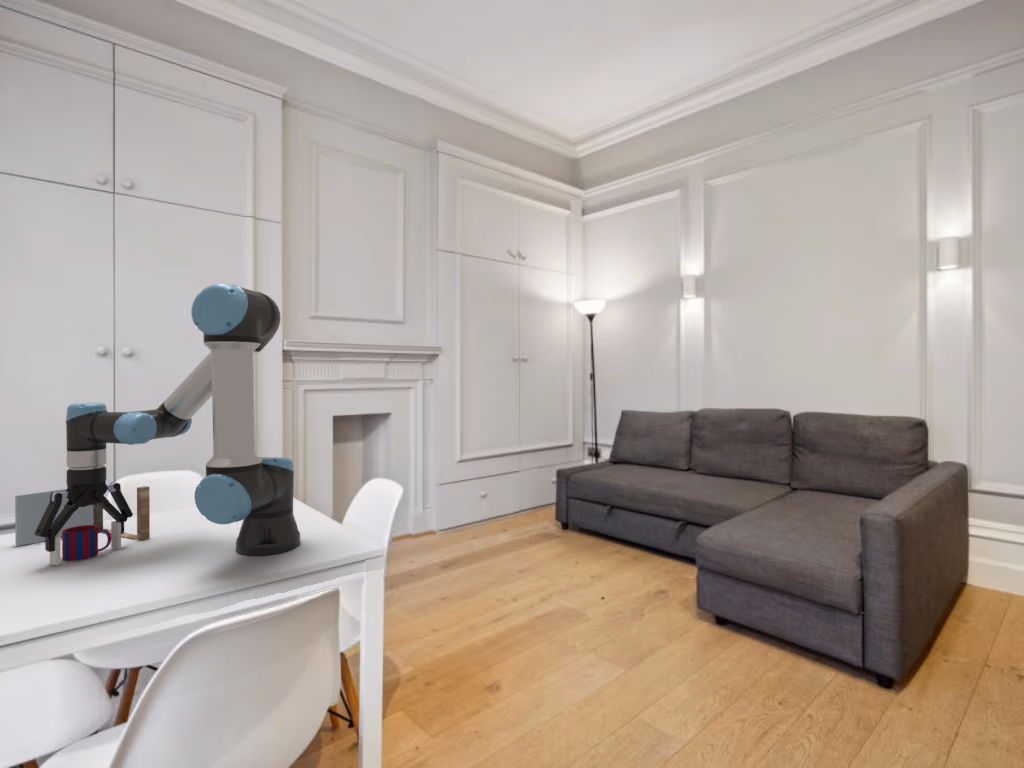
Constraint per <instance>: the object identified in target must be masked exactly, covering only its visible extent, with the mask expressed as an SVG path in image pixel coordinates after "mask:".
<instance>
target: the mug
mask: <svg viewBox="0 0 1024 768" xmlns="http://www.w3.org/2000/svg"><path fill="white" fill-rule="evenodd" d="M100 532H104V533H106V534H105V535H106V537H107V542H106V545H105V546H103V547H102V548H99V534H101V533H100ZM104 533H103V534H104ZM61 543H62V544H61V548H62V549H61V553H62V554H61V558H62V561H64V562H79V561H84V560H88V559H91V558H95V557H97V556H98V555H99V552H102V551H104V550H106V549H107V548H108V547H109V546H110V545H111V534H110V532H109V531H107V530H99V531H98V526H97V525H81V526H75V527H70V528H67V529H64V530H63V531H62V537H61Z"/></svg>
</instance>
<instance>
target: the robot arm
mask: <svg viewBox="0 0 1024 768" xmlns="http://www.w3.org/2000/svg"><path fill="white" fill-rule="evenodd" d="M190 312H191V319H192V322H193V324H194V325H195V326H196V327H197V329H198V330H199V331H201V332H202V333H203V345H204V346H205V347H207V348H208V350H209V353H208V354H207V355H206V356H205V357H203V359H202V360H201V361H200V363H199V364H198V365H197V366H195V368H194V369H193V370H192V371H191V372H190V373H189V374H188V375H187V376H186V378H184V380H183V381H182V382H181V383H180V384H179V385H178V386H177V387H176V388H175V390H174V391H172V393H171V394H169V395H168V397H167V398H166V399H165V400H164V401H163V402H162V403H161V404H160V405H159V406H158V407H157V408H156V409H149V410H147V409H146V410H136V411H133V410H132V411H108V410H107V405H106V404H105V403H103V402H79V403H76V402H75V403H71V404H69V405H68V406H67V407H66V417H65V418H66V419H65V427H66V428H65V429H66V467H67V468H68V469H67V470H66V488H67V490H66V492H60V493H57V492H52V493H51V494H50V503H49V505H48V507H47V509H46V511H45V513H44V515H43V517H42V519H41V521H40V523H39V525H38V527H37V529H36V531H35V535H36V536H40V537H45V540H44V544H45V545H44V546H45V549H44V550H45V551H46V552H49V565H53V566H60V565H61V537H60V536H56V535H57V534H58V532H59V531H60V530H61V529H62V527H63V526H64V525H65V523H66V522H67V521H68V519H69V518H70V517H71V515H72V514H73V513H74V512H75V511H76V510H77V509H78V508H79V507H86V506H88V505H96V504H99V505H100V506H101V507H102V508H103V511H105V512H106V513H107V514H108V515H109V516H111V518H112V519H113V521H111V523H110V530H111V543H110V545H111V546H110V548H113V549H117V550H120V549H121V548H122V537H121V534H123V533H125V522H127V521H128V518H132V517H133V515H134V514H133V511H132V509H131V508H130V506H129V504H128V502H127V500H126V499H125V496H124V494H123V493H122V490H121V489H122V488H121V483H119V482H113V481H112V482H110V483H108V484H106V483H107V467H106V466H105V465H106V464H107V444H118V445H119V444H121V445H122V444H123V445H130V446H131V445H142V444H147V443H149V442H150V441H151V440H152V441H153V440H157V439H165V438H166V439H167V438H174V437H178V436H181V435H185V434H186V433H187V432H188V431H189V430H190V428H191V425H192V420H193V419H192V417H193V416H194V415H196V413H197V412H198V411H199V410H201V408H202V407H203V406H204V405H205V403H207V401H209V400H210V399H211V398H212V399H211V400H212V403H211V405H212V445H213V446H212V447H213V448H212V450H213V452H212V453H213V454H212V457H211V458H210V459H209V460H208V461H207V462H206V463H205V477H203V478H202V479H201V480H200V482H199V483H198V484H197V485H196V487H195V491H194V502H195V503H194V504H195V506H196V508H197V510H198V512H199V513H200V514H201V515H202V516H204V517H205V519H206V520H207V521H209V522H211V523H214V524H217V525H229V524H232V523H238V522H241V521H242V522H241V526H240V529H239V533H238V536H237V538H236V540H235V552H237V553H238V554H240V555H244V556H245V555H246V556H267V555H274V554H280V553H284V552H287V551H290V550H293V549H296V548H297V547H298V546H300V544H301V532H300V531H299V528H298V525H297V521H296V518H295V516H294V474H295V471H294V462H293V460H292V459H291V458H289V457H282V456H281V457H276V456H275V457H273V456H272V457H271V456H268V457H267V456H258V455H257V453H256V446H255V445H256V444H255V443H256V442H255V441H256V439H255V437H256V436H255V432H256V431H255V377H254V376H255V375H254V370H255V369H254V368H255V367H254V353H260V352H261V351H262V350H263V349H264V348H265V347H266V346H267V345H268V344H269V343H270V341H271V340H272V339H273V338H274V337H275V335H276V334H277V332H278V330H279V327H280V325H281V312H280V308H279V307H278V305H277V302H276V301H275V300H273V299H272V298H271V297H270V296H269V295H267V294H265V293H262V292H261V291H260V292H259V291H254V290H251V289H248V288H246V287H245V288H244V287H241V286H238V285H235V284H227V283H213V284H210V285H207V286H206V287H204V288H203V289H202V290H201V291H200V292H199V293H197V295H196V296H195V298H194V300H193V302H192V305H191V311H190ZM107 491H108V493H110V495H111V497H112V499H113V501H114V503H115V504H116V506H117V507H115V506H114V505H113V504H112V503H111V502H110V500H109V499H108V498H107V497H106V496H105V494H106V493H107ZM65 497H67V498H68V499H69V500H68V502H67V503H66V504H65V506H64V509H63V510H62V511H61V512H60V514H59V515H58V516H57V518H56V519H55V516H56V514H57V512H58V510H59V508H60V506H61V503H62V501H64V498H65ZM73 504H74V505H73ZM54 519H55V520H54Z"/></svg>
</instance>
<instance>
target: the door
mask: <svg viewBox="0 0 1024 768" xmlns="http://www.w3.org/2000/svg"><path fill="white" fill-rule="evenodd" d="M66 490H67V487H65V488H58V489H52V490H45V491H38V492H37V491H36V492H30V493H23V494H15V497H14V501H15V502H14V503H15V506H14V507H15V508H14V512H15V513H14V514H15V519H14V521H15V522H14V523H15V524H14V525H15V527H14V528H15V532H14V533H15V546H16V547H18V546H23V545H27V544H33V543H34V544H35V543H38V542H43V541H44V542H45V537H40V536H36V535H35V531H36V529H37V527H38V525H39V523H40V521H41V519H42V517H43V515H44V513H45V511H46V509H47V507H48V505H49V503H50V494H51V493H52V492H57V493H60V492H66ZM68 500H69V499H68V498H67V497H65V498H64V501H62V503H61V506H60V508H59V510H58V512H57V514H56V516H55V519H56V518H57V516H58V515H59V514H60V512H61V511H62V510H63V509H64V506H65V504H66V503H67V502H68ZM73 505H74V504H73ZM55 519H54V520H55ZM81 525H93V505H88V506H86V507H79V508H78V509H77V510H76V511H75V512H74V513H73V514H72V515H71V517H70V518H69V519H68V521H67V522H66V523H65V525H64V526H63V527H62V529H61V530H60V531H59V532H58V534H57V535H56V536H60V538H62V531H63V530H64V529H67V528H70V527H75V526H81Z"/></svg>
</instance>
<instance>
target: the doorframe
mask: <svg viewBox="0 0 1024 768" xmlns="http://www.w3.org/2000/svg"><path fill="white" fill-rule="evenodd" d="M150 496H151V495H150V486H147V485H143V486H138V487H136V534H133V533H129V532H124V533H123V534H121V538H124V539H129V540H133V541H134V540H137V541H141V542H143V541H146V540H150V539H151V538H150V534H151V533H150V531H151V529H150V518H151V517H150V513H151V512H150V511H151V510H150V507H151V506H150V504H151V502H150V499H151V498H150ZM93 525H97V526H98V531H99V530H107V531H109V532H110V534H111V529H109V528H104V509H103V508H102V507H101V506H100V505H99V504H96V505H93ZM99 534H105V535H106V533H104V532H100V533H99Z"/></svg>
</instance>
